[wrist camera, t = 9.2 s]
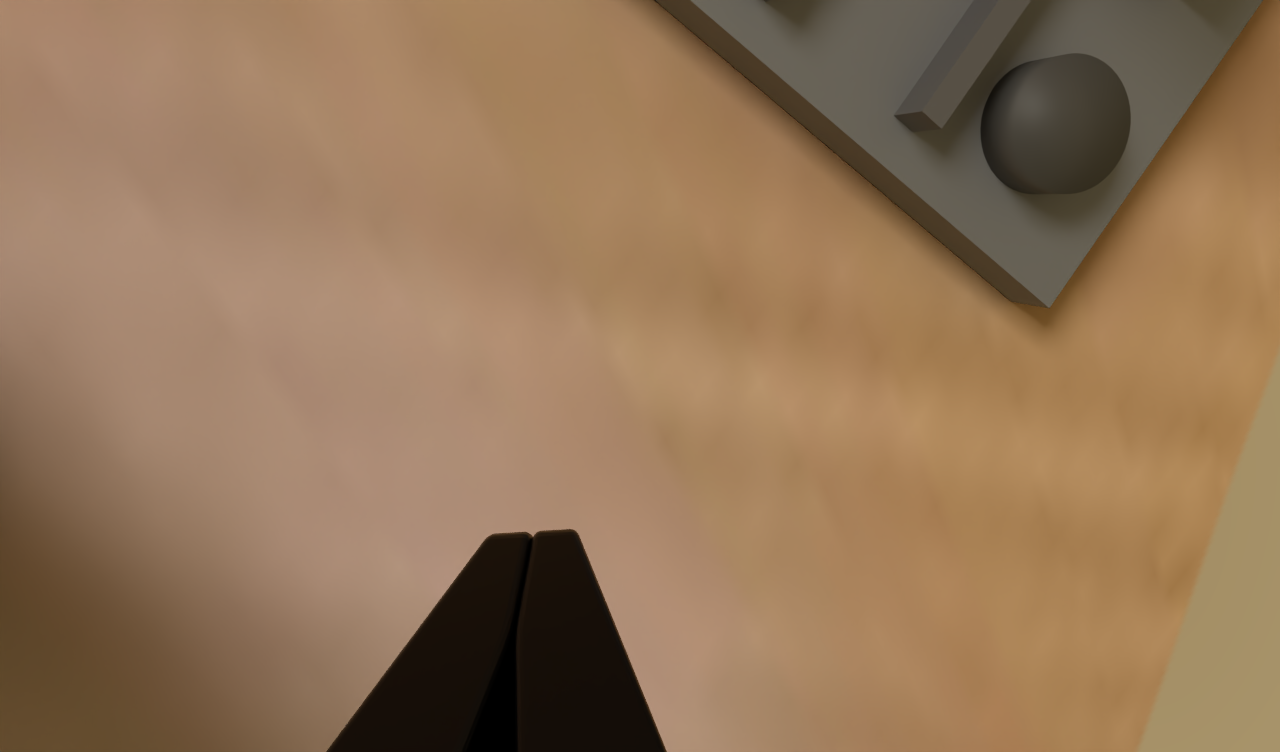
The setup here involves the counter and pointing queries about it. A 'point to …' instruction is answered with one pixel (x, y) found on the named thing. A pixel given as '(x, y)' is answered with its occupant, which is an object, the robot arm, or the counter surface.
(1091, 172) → the switch panel
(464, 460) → the counter surface
